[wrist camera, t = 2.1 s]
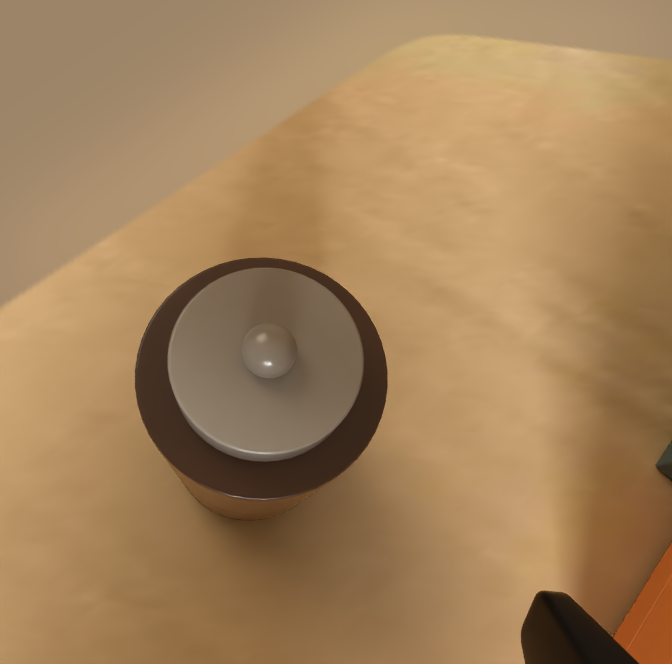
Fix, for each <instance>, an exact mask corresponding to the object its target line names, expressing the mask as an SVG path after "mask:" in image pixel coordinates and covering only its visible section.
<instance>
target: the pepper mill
mask: <svg viewBox="0 0 672 664" xmlns="http://www.w3.org/2000/svg"><path fill="white" fill-rule="evenodd" d="M135 390H136V397H137V404H138V407H139V410H140V414H141V417H142V420H143V423H144V425H145V427H146V429H147V431H148V434H149V436H150V437H151V439H152V440H153V442H154V443H155V445H156V447H157V448H158V450H159V451H160V452H161V454H162V455H163V456H164V458H165V459H166V460H167V462H168V463H169V465H170V466H171V467H172V469H173V470H174V471H175V473H176V474H177V475H178V477H179V478H180V479H181V481H182V482H183V483H184V485H185V486H186V487H187V489H188V490H189V491H190V492H191V494H192V495H193V496H194V497H195V498H196V499H197V500H198V501H199V502H200V503H202V504H203V505H204V506H206V507H207V508H209V509H210V510H212V511H214V512H216V513H218V514H220V515H223V516H226V517H229V518H233V519H239V520H260V519H265V518H270V517H273V516H276V515H278V514H281V513H283V512H285V511H287V510H289V509H290V508H292V507H294V506H295V505H297V504H298V503H299V502H301V501H302V500H304V499H305V498H307V497H308V496H310V495H311V494H313V493H314V492H316V491H317V490H319V489H320V488H321V487H323V486H324V485H326V484H327V483H329V482H330V481H332V480H333V479H334V478H336V477H337V476H338V475H340V474H341V473H343V472H344V471H345V470H346V469H347V468H348V467H349V466H350V465H351V464H352V463H353V462H354V461H356V460H357V458H358V457H359V456H360V455H361V453H362V452H363V451H364V450H365V448H366V447H367V446H368V444H369V442H370V440H371V439H372V437H373V435H374V434H375V432H376V429H377V427H378V425H379V422H380V420H381V417H382V414H383V410H384V406H385V402H386V394H387V365H386V358H385V353H384V350H383V346H382V342H381V340H380V337H379V335H378V333H377V330H376V328H375V326H374V324H373V322H372V321H371V319H370V317H369V315H368V314H367V313H366V311H365V310H364V309H363V307H362V306H361V305H360V303H359V302H358V301H357V300H356V299H355V298H354V297H353V296H352V295H351V294H350V293H349V292H348V291H347V290H346V289H345V288H343V287H342V286H341V285H340V284H339V283H337V282H336V281H334V280H333V279H331V278H330V277H328V276H326V275H325V274H323V273H321V272H319V271H317V270H315V269H313V268H311V267H308V266H305V265H302V264H299V263H296V262H292V261H287V260H282V259H274V258H247V259H240V260H234V261H230V262H226V263H223V264H219V265H217V266H214V267H212V268H209V269H207V270H204V271H203V272H201V273H199V274H197V275H195V276H194V277H192V278H190V279H189V280H188V281H186V282H185V283H183V284H182V285H181V286H179V287H178V288H177V289H176V290H175V291H174V292H173V293H172V294H171V295H170V296H169V297H167V298H166V300H165V301H164V302H163V303H162V305H161V306H160V307H159V308H158V310H157V311H156V312H155V314H154V316H153V317H152V319H151V321H150V322H149V324H148V326H147V328H146V331H145V333H144V335H143V337H142V340H141V344H140V347H139V350H138V354H137V361H136V368H135Z"/></svg>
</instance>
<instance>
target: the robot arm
mask: <svg viewBox="0 0 672 664" xmlns="http://www.w3.org/2000/svg"><path fill="white" fill-rule="evenodd" d="M521 643H522V649H523V654H524V659H525V664H639V663H638V662H637V661H636V660H635V659H634V658H633V657H632V656H631V655H630V654H629V653H628V652H627V651H626V650H625V649H624V648H623V647H622V646H621V645H620V644H619V643H618V642H617V641H616V640H614V639H613V638H612V637H611V636H610V635H609V634H608V633H607V632H606V631H605V630H604V629H603V628H602V627H601V626H600V625H599V624H598V623H597V622H596V621H595V620H594V619H593V618H592V617H591V616H590V615H589V614H588V613H587V612H585V611H584V610H583V609H582V608H581V607H580V606H579V605H578V604H577V603H576V602H575V601H574V600H573V599H572V598H571V597H570V596H569V595H567V594H565V593H563V592H554V591H540V592H538V593H537V594H536V596H535V598H534V600H533V602H532V605H531V607H530V609H529V611H528V614H527V616H526V618H525V621H524V623H523V626H522V630H521Z"/></svg>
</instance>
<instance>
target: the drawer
mask: <svg viewBox="0 0 672 664" xmlns="http://www.w3.org/2000/svg"><path fill="white" fill-rule="evenodd" d="M613 639H614V640H616V641H617V642H618V643H619V644H620V645H621V646H622V647H623V648H624V649H625V650H626V651H627V652H628V653H629V654H630V655H631V656H632V657H633V658H634V659H635V660H636V661H637V662H638V663H639V664H672V543H671V544H670V546H669V547H668V549H667V551H666V552H665V554H664V556H663V557H662V559H661V560H660V562H659V564H658V565H657V567H656V569H655V570H654V572H653V574H652V575H651V577H650V578H649V580H648V582H647V583H646V585H645V587H644V588H643V590H642V591H641V593H640V595H639V596H638V598H637V600H636V601H635V603H634V604H633V606H632V608H631V609H630V611H629V613H628V614H627V616H626V618H625V619H624V621H623V622H622V624H621V626H620V627H619V629H618V631H617V632H616V634H615V635H614V637H613Z"/></svg>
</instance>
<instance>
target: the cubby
mask: <svg viewBox="0 0 672 664" xmlns="http://www.w3.org/2000/svg"><path fill="white" fill-rule="evenodd" d="M656 467H657V468H659V469H660V470H661V471H662V472H663V473H664V474H665V475H666V476H667V477H669V478H670V479H671V480H672V441H671V443H670V444H669V446H668V447H667V449H666V451H665V452H664V454H663V455H662V457H661V458H660V460H659V461H658V463H657V464H656Z"/></svg>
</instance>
